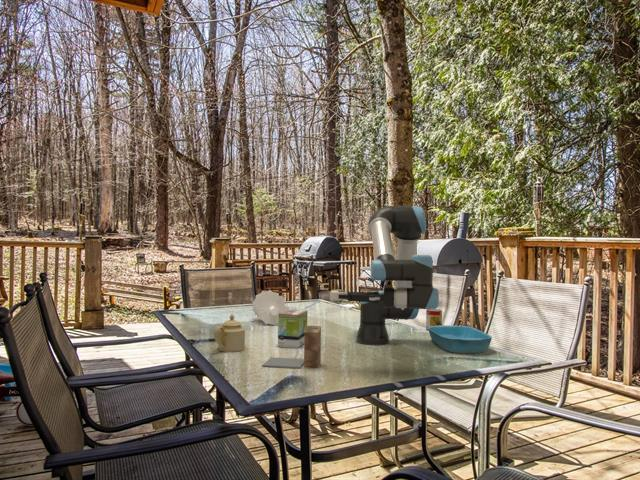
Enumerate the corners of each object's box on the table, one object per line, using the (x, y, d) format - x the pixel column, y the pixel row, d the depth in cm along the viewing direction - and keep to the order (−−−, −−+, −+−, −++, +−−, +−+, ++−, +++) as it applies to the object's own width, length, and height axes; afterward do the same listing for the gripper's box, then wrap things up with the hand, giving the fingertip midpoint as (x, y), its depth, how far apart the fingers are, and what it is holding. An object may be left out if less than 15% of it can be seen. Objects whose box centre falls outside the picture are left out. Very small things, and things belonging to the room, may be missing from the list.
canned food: (444, 334, 239) (445, 310, 239) (431, 334, 237) (431, 311, 237) (436, 331, 247) (436, 308, 247) (423, 332, 244) (423, 308, 244)
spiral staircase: (266, 333, 255) (258, 323, 279) (295, 318, 259) (285, 310, 283) (252, 304, 252) (245, 296, 276) (281, 289, 256) (272, 283, 280)
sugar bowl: (240, 354, 191) (240, 317, 191) (213, 354, 191) (213, 317, 191) (246, 346, 206) (247, 312, 206) (221, 346, 206) (222, 311, 206)
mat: (306, 360, 182) (306, 359, 182) (299, 368, 170) (300, 367, 170) (271, 358, 184) (271, 357, 184) (262, 366, 172) (262, 365, 172)
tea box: (299, 348, 203) (299, 314, 203) (277, 347, 205) (277, 313, 205) (307, 341, 218) (307, 309, 218) (286, 340, 220) (286, 308, 220)
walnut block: (320, 363, 179) (321, 326, 179) (317, 368, 172) (318, 329, 172) (307, 362, 179) (307, 325, 179) (303, 367, 172) (304, 329, 173)
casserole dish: (422, 338, 229) (422, 323, 229) (468, 338, 230) (468, 323, 230) (446, 356, 192) (446, 339, 192) (500, 356, 193) (500, 339, 193)
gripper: (394, 310, 164) (327, 308, 168) (394, 305, 178) (332, 303, 181) (394, 289, 164) (327, 287, 168) (394, 285, 178) (332, 284, 181)
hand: (330, 295), depth 175 cm, fingers closed
